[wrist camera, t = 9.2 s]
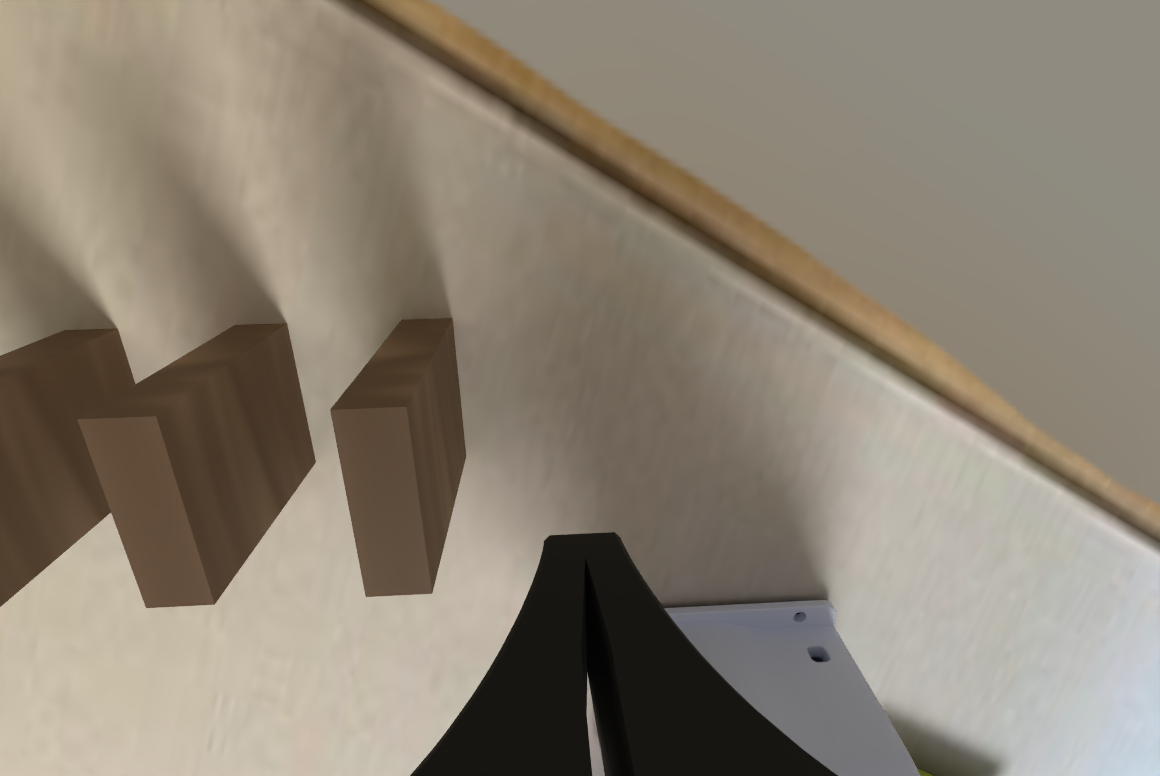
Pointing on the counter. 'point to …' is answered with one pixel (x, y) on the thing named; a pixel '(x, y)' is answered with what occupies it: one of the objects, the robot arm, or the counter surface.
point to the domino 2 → (202, 461)
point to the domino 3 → (403, 456)
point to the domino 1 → (51, 447)
